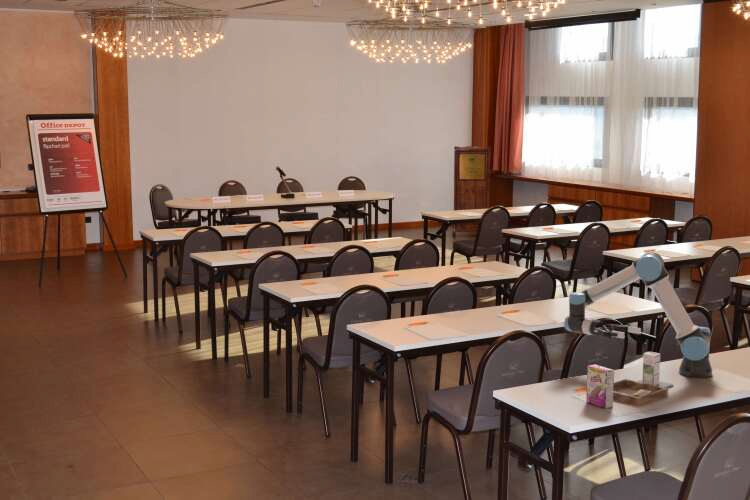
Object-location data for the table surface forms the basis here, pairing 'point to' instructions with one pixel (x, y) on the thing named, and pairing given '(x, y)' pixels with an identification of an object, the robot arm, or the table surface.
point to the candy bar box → (600, 386)
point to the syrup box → (651, 368)
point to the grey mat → (661, 384)
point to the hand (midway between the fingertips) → (632, 333)
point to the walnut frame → (656, 391)
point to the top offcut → (641, 393)
